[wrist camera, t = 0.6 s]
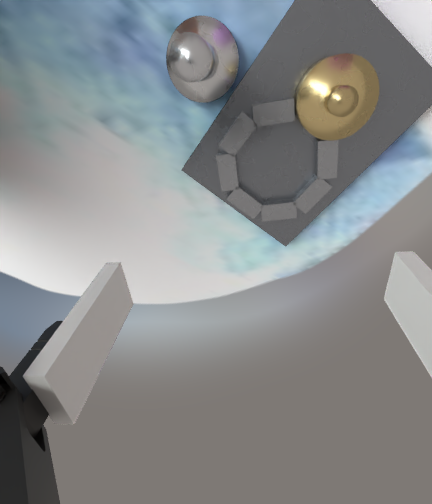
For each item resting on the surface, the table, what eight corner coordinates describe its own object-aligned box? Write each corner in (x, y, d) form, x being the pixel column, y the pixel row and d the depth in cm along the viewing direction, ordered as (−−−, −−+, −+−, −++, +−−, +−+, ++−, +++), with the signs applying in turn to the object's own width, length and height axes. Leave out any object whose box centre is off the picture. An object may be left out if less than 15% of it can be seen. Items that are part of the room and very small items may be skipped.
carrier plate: (183, 166, 35) (179, 172, 33) (322, -42, 25) (330, -53, 23) (284, 240, 39) (286, 251, 37) (441, 86, 29) (457, 87, 26)
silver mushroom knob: (157, 71, 30) (128, 70, 23) (194, -1, 27) (175, -29, 20) (212, 115, 32) (201, 127, 25) (253, 53, 29) (255, 45, 22)
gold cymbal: (279, 106, 30) (284, 110, 26) (333, 36, 26) (347, 29, 23) (329, 150, 31) (340, 160, 27) (385, 89, 28) (407, 91, 24)
